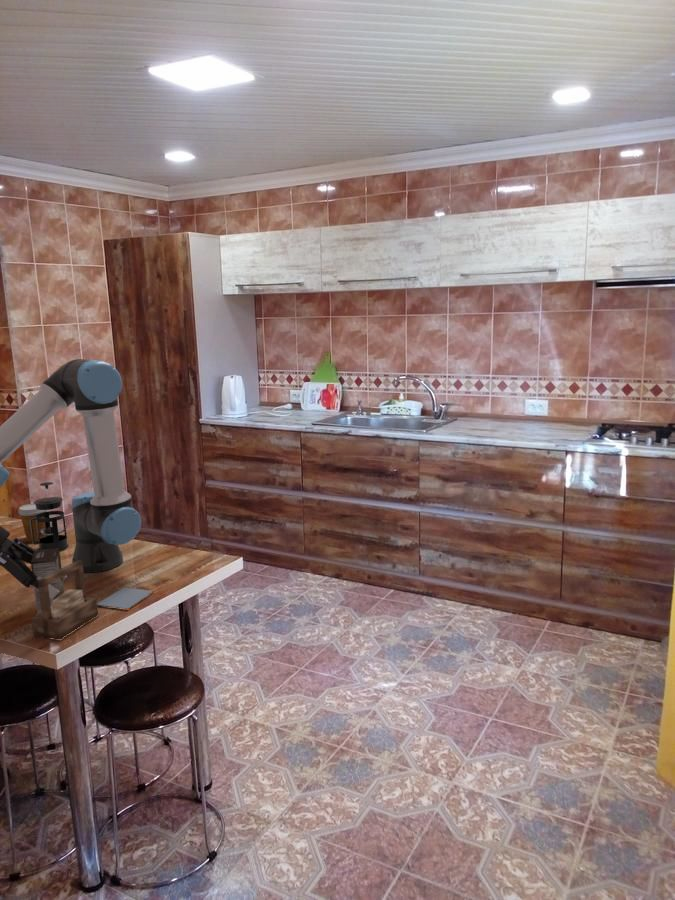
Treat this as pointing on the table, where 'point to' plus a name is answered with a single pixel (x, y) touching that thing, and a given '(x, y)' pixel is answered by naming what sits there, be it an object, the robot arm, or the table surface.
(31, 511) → the disposable coffee cup
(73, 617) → the offcut rack
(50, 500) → the french press
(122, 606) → the slate mat
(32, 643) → the table surface
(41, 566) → the coffee box
